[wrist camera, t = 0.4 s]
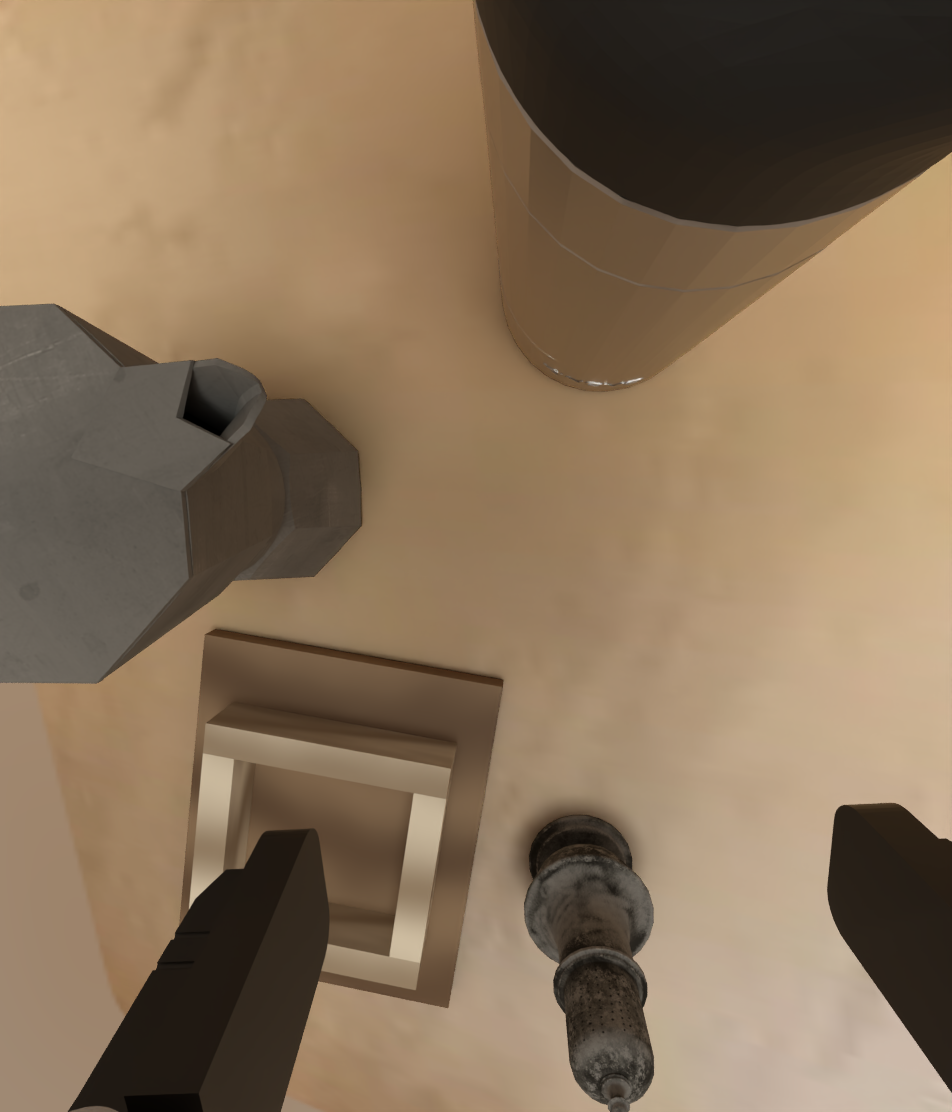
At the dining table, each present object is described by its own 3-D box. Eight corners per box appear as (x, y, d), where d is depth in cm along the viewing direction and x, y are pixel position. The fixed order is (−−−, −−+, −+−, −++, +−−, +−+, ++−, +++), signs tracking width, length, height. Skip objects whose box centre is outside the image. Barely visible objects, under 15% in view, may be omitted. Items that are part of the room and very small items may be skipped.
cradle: (215, 629, 29) (174, 649, 26) (503, 680, 28) (501, 707, 25) (187, 936, 32) (147, 992, 28) (450, 991, 31) (441, 1055, 28)
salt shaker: (529, 802, 29) (536, 1024, 17) (644, 817, 29) (732, 1053, 17) (518, 905, 30) (517, 1183, 18) (630, 920, 30) (703, 1214, 18)
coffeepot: (354, 341, 27) (27, 71, 9) (435, 524, 28) (284, 608, 10) (84, 474, 29) (-627, 466, 11) (168, 641, 30) (-363, 887, 12)
